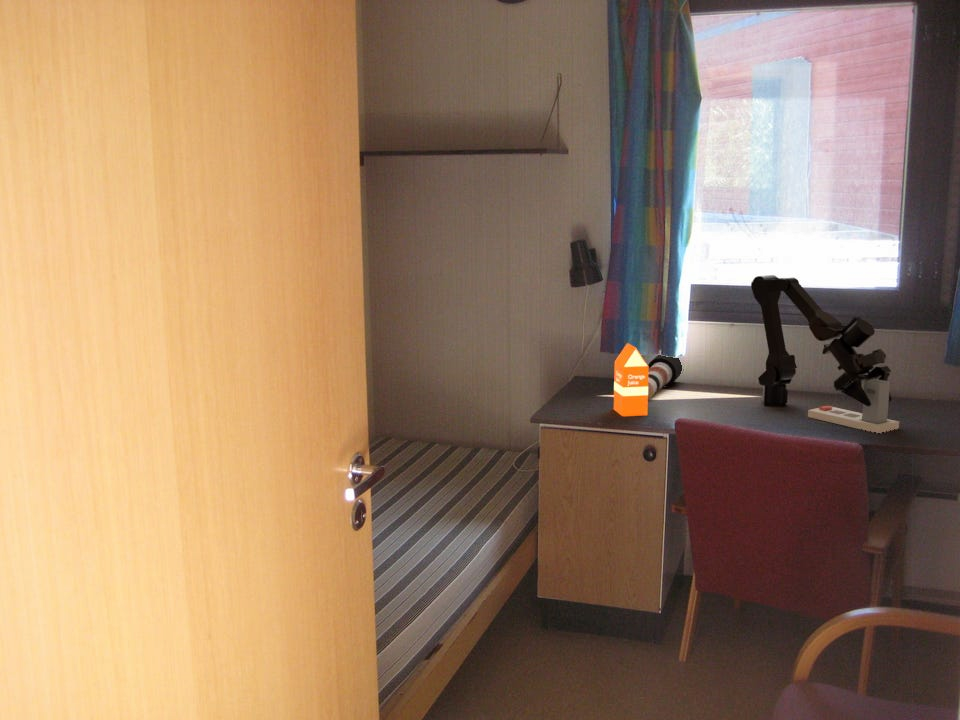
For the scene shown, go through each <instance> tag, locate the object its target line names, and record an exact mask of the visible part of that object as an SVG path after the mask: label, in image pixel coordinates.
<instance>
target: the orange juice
mask: <svg viewBox="0 0 960 720" xmlns="http://www.w3.org/2000/svg"><path fill="white" fill-rule="evenodd" d="M648 371H649V366H648V363H646V361H645V360H644V358H643V357H642V355H641V354H640V352H639V350H638V349H637V347H636V346H633V345H632V344H630V343H628V342H627V343H626V344H625V345H624V347H623V349H622V350H621V352H620V353H619V355H618V356H617V358H616V359H615V360H614V377H613V378H614V382H613V410H614V411H615V412H616V413H617V414H619V415H620V416H621V417H635V416H636V417H637V416H648V410H649V409H648V406H649V405H648V402H649V398H648Z"/></svg>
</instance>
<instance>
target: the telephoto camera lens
mask: <svg viewBox="0 0 960 720" xmlns="http://www.w3.org/2000/svg"><path fill="white" fill-rule="evenodd" d="M647 365H648V366H649V371H648V399H650V398H652V397H653V396H654V395H655V394H656V393H657V392H658V391H660V390H661V389H662V388H664V387H663V386H668V387H670V386H671V385H672V384H674V382H675V381H676V380H677V379H679V377H680V376H681V375H682V374H681V371H682V365H681V362H680V360H679V358H673V357H666V356H661V355H658V354H657V355H656V356H654V358H653V359H652V360H650V361H649V363H647ZM680 374H681V375H680Z"/></svg>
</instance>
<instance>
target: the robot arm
mask: <svg viewBox="0 0 960 720" xmlns="http://www.w3.org/2000/svg"><path fill="white" fill-rule="evenodd" d="M750 286H751V287H750V288H751V291H752V295H753V297H754V299H755V301H756V302H757V303H758V305H759V306H760V309H761V314H762V320H763V327H764V332H765V338H766V345H767V350H768V355H767V358H766V360H765V371H763V372H762V374H760V376H759V377H758V378H757V379H758V384H759V385H760V386H762V387H763V388H762V399H761V403H762V405H763V406H765V407H787V404H788V397H789V396H788V395H789V393H788V392H789V390H788V389H787V385H790V384H791V382H792V380H793V378H794V376H795V375H796V371H797V368H798V366H797V363H796V356H795V355H794V354H790V353H789V352H788V351H787V349H786V348H787V347H786V343H785V337H784V332H783V327H782V325H783V324H782V322H781V320H782V319H781V315H780V308H779V301H780V298H781V294H782V292H783V293H784V294H785V295H786V296H787V298H788V299H789V300H790V301H791V302H792V303H793V305H794V306H795V307H796V308H797V309H798V310H799V311H800V313H801V314H802V315H803V316H804V318H805V319H806V321H807V322H808V327H809V331H811V334H812V335H813V336H814V338H815V339H816V340H817V341H819V342H826V341H831V342H830V343H826V344H823V349H822V355H828V354H831V355H832V357H833V358H834V360H835V361H836V362H837V364H838V366H837V369H838V370H839V371H843V373H842V374H841V375H839V377H837V378H836V379H835V380H834V381H833V382H832V383H833V385H832V386H833V388H834V390H835V391H836V392H837V393H838V392H840V393H841V394H844V395H846V396H848V397H851V398H852V399H853V400H856V401H858V403H861V404H862V405H863V404H864V405H866V406H868V407H869V406H870V405H871V402H870V400H869V398H868V397H867V395H866V393H865V392H864V387H863V386H862V382H864V381H867V380H872V379H878V380H883V381H888V378H889V377H890V375H891V373H892V369H890V367H889V366H888V365H879V364H884V363H886V361H885V360H886V358H887V354H886V353H885V352H884V350H882V349H881V348H877V349H875V350H872V352H870V353H868V354H863V353H862V352H861V353H858V351H856V349H855V348H860V347H861V346H862V345H863V344H865V343H866V342H868V340H870V339H871V338H872V337H873V336H874V335H875V328H874V326H873V325H872V324H871V323H869V322H868V321H866V320H864V319H862V317H861V316H854V317H853V318H852V319H851V320H850V322H849V323H848V324H847V325H845V324H842V323H841V322H840V321H839V320H838V318H836V317H835V316H833V314H830V313H828V312H825V311H824V310H823V309H822V308H821V307H820V306H819V304H817V302H816V300H814V299H813V297H812V296H811V295H810V294H809V293H808V292H807V290H805V289H804V287H803V286H802V285H801V284H800V282H799V280H798V279H797V278H795V277H778V276H776V275H774V274H770V275H757V276H755V277H754V278H753V280H752V281H751V283H750ZM876 365H878V366H876ZM874 366H875V367H874ZM891 401H893V399H892V396H891V392H890V391H889V402H888V403H890V402H891Z"/></svg>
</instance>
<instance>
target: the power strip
mask: <svg viewBox="0 0 960 720" xmlns="http://www.w3.org/2000/svg"><path fill="white" fill-rule="evenodd" d="M807 418H811V419H815V420H820V421H823V422H829V423H832V424H837V425H842V426H845V427H849V428H853V429H856V430H861V429H862V430H861V431H865V430H866V431H865V432H870V431H871V433H874V432H876V433H875V434H878V433H880V434H883V433H882V432H884V433H887V432H890V430H891V431H895V430H899V429H898V428H900V421H898V420H893V419H889V418H887V422H886V423H882V424H873V423H869V422H865V421H862V412H857V411H853V410H849V409H845V408H844V409H843V408H839V407H834V406H831V405H823V406H819V407H817V408H811V409H808V410H807ZM894 429H895V430H894ZM886 431H887V432H886Z"/></svg>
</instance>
